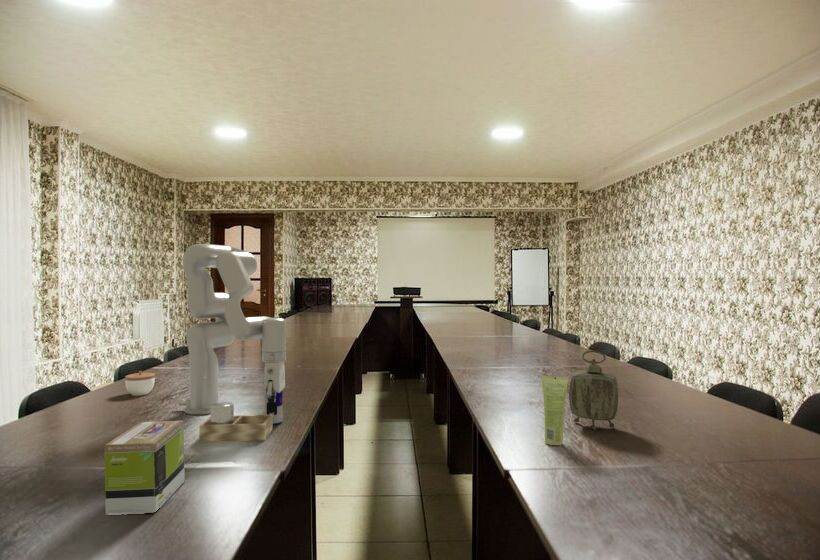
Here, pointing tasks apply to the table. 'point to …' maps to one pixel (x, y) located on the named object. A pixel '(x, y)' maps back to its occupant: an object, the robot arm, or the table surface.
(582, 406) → the tabletop clock
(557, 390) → the tube
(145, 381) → the lidded jar
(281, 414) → the beverage can
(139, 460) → the tea box
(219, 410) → the grey rounded cylinder
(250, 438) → the caddy
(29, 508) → the table surface
